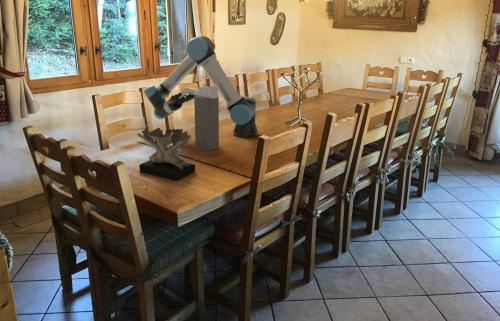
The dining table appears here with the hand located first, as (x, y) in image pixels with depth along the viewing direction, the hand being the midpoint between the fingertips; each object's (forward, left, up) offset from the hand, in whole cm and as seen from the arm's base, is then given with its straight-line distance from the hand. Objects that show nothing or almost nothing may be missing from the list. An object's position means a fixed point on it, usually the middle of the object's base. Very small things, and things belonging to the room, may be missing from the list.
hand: (195, 89), depth 219 cm
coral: (+1, +47, -31) cm, 56 cm away
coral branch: (+5, +25, -31) cm, 40 cm away
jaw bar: (-3, +1, -3) cm, 4 cm away
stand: (-7, +4, -31) cm, 32 cm away
